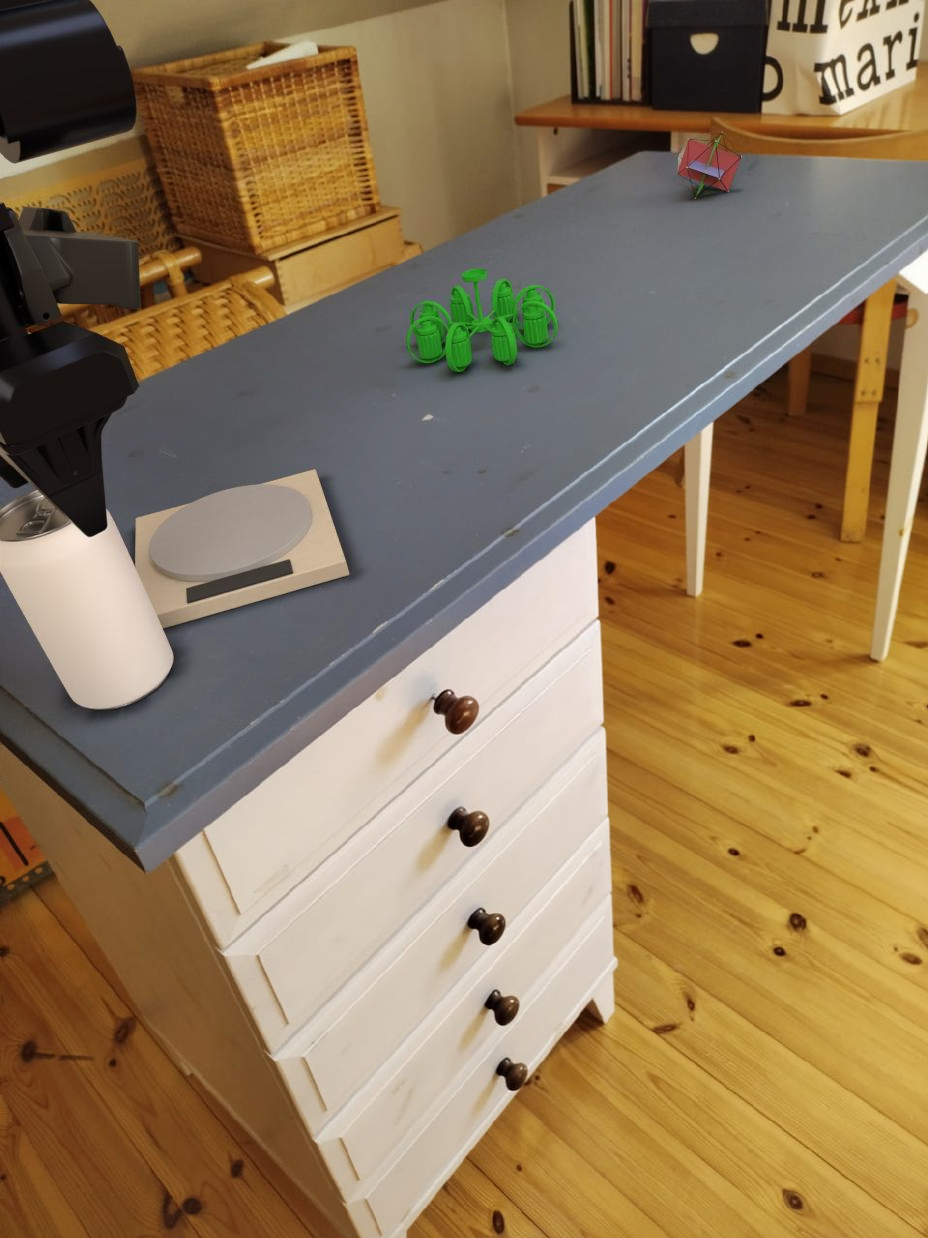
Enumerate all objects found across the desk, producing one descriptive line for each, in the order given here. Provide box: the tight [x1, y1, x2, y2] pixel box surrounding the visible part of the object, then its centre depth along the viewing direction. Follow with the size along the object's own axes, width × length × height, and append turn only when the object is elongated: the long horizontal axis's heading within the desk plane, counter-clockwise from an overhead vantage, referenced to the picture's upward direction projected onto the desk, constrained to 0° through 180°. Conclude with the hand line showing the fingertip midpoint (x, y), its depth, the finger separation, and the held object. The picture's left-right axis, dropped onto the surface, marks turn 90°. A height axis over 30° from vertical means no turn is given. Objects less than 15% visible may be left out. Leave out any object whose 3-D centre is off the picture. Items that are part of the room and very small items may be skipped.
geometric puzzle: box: [676, 131, 743, 200], centre depth 116 cm, size 7×7×8 cm
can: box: [0, 489, 174, 711], centre depth 54 cm, size 6×6×12 cm
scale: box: [134, 468, 350, 629], centre depth 67 cm, size 14×14×2 cm
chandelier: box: [405, 267, 559, 373], centre depth 88 cm, size 15×15×7 cm
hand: (57, 507), depth 50 cm, fingers open, 9 cm apart
